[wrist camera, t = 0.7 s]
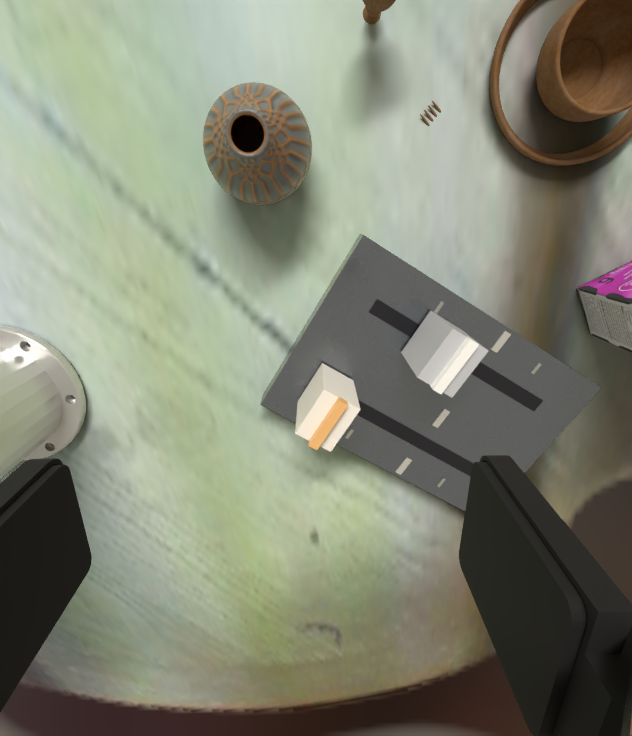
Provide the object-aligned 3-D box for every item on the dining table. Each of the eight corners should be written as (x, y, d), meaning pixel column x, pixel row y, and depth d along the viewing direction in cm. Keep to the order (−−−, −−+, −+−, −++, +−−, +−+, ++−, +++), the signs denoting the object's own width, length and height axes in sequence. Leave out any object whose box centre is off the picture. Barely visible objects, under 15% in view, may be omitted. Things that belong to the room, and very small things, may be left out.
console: (474, 506, 41) (482, 520, 39) (263, 395, 37) (260, 405, 35) (586, 378, 37) (602, 388, 35) (360, 233, 32) (363, 235, 30)
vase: (313, 204, 31) (313, 201, 23) (222, 207, 31) (191, 205, 23) (310, 98, 29) (309, 53, 21) (212, 101, 29) (172, 58, 21)
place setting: (519, 233, 33) (561, 237, 27) (335, 26, 28) (341, -20, 22) (722, 33, 28) (821, -10, 23) (544, -254, 24) (615, -397, 18)
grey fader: (430, 370, 34) (454, 402, 28) (400, 352, 33) (419, 381, 28) (461, 328, 33) (493, 353, 27) (431, 309, 32) (456, 330, 26)
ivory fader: (327, 418, 35) (330, 457, 30) (297, 402, 35) (294, 438, 29) (353, 379, 34) (362, 413, 28) (322, 362, 33) (324, 392, 28)
